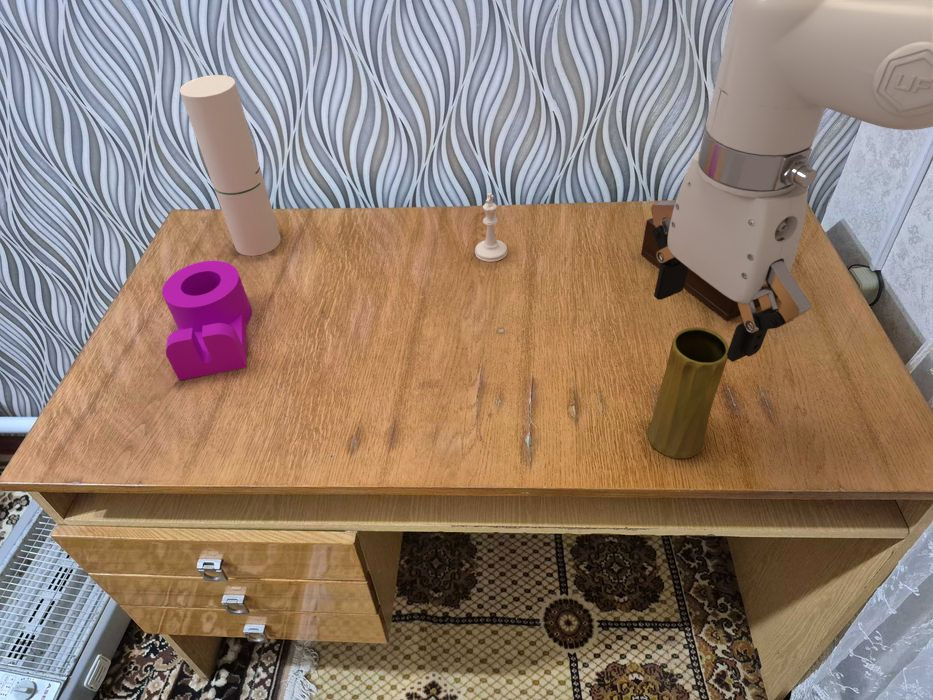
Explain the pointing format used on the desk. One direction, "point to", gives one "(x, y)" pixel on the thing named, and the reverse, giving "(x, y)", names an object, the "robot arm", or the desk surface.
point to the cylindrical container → (231, 162)
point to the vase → (688, 392)
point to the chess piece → (490, 236)
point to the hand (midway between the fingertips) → (703, 322)
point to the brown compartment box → (695, 281)
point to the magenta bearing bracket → (207, 319)
